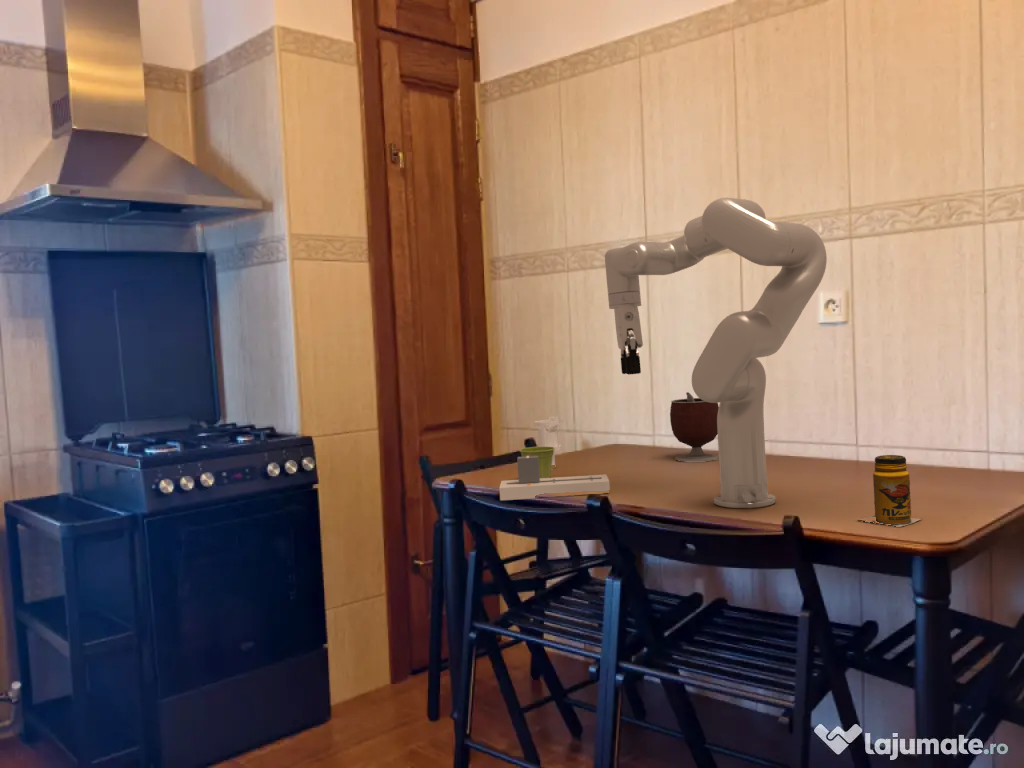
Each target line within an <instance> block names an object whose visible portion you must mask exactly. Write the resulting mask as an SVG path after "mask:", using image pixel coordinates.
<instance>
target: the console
mask: <svg viewBox="0 0 1024 768" xmlns="http://www.w3.org/2000/svg"><path fill="white" fill-rule="evenodd" d="M500 482H501V483H500V485H499V501H513V500H531V499H536V498H535V496H536V495H539V494H544V493H565V492H582V491H607V490H610V491H611V485H610V484H611V483H610V479H609V477H608V476H607V474H605V473H604V474H591V475H577V476H576V475H575V476H573V475H572V476H561V477H560V476H556V477H551V478H540V482H534V483H519V479H510V480H509V479H508V480H501V481H500Z"/></svg>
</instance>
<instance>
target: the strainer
mask: <svg viewBox="0 0 1024 768" xmlns="http://www.w3.org/2000/svg"><path fill="white" fill-rule="evenodd" d="M547 418H548V419H541V420H534V426H535V427H538V428H537V435H538V438H537V439H538V445H536V446H535V447H554V448H555V449H554V451H553V455H552V465H555V466H556V460H555V459H556V457H555V456H556V455H555V451H560V450H562V444H559V435H558V431H557V430H560V417H559V416H549V417H547ZM546 427H548V431H547V429H546Z"/></svg>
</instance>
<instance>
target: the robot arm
mask: <svg viewBox="0 0 1024 768" xmlns="http://www.w3.org/2000/svg"><path fill="white" fill-rule="evenodd" d="M685 224H686V225H685V227H684V231H683V235H682V236H679V237H677V238H675V239H671V240H670V241H665V242H661V241H659V242H658V241H636V242H632V243H630V244H627V245H626V246H622V247H617V248H616V247H615V248H611V249H608V250H607V251H605V254H604V267H605V277H606V286H607V287H606V288H607V298H608V299H607V300H608V307H609V308H608V309H609V310H613V311H614V324H615V333H616V341H617V346H618V349H619V350H620V367H621V373H622V375H626V374H627V375H629V376H630V375H639V374H641V373H642V369H641V359H640V353H639V349H640V348H642V347H643V346H644V343H643V335H642V324H641V318H640V313H639V307H641V306H642V299H641V287H640V285H641V284H640V279H639V278H640V276H667V275H672V274H675V273H677V272H680V271H682V270H686V269H688V268H692V267H693V266H695V265H697V264H699V263H700V262H701V261H703V260H704V259H705V258H707V257H710V256H712V255H714V254H718V253H719V252H722V251H725V250H729V251H732V252H733V253H735V254H736V255H738V256H740V257H742V258H744V259H746V260H747V261H749V262H751V263H753V264H756V265H759V266H764V267H781V269H780V271H779V272H778V273H777V274H776V275H775V276H774V278H772V279H771V281H770V282H769V283H768V284H767V286H766V287H765V288H764V290H763V292H762V293H761V296H760V298H759V299H758V301H757V302H756V303H755V305H754V306H753V308H751V309H750V310H745V311H744V310H743V311H742V310H741V311H735V312H733V313H731V314H729V315H728V316H726V317H725V318H723V319H722V320H721V321H720V323H719V324H718V325H717V327H715V329H714V331H713V333H712V335H711V336H710V337H709V339H708V341H707V343H706V345H705V347H704V349H703V350H702V352H701V354H700V356H699V357H698V359H697V361H696V363H695V365H694V368H693V370H692V374H691V385H692V386H691V387H692V391H693V393H695V395H696V396H697V398H700V399H702V400H703V401H706V402H710V403H718V406H719V409H718V415H717V429H718V430H717V432H718V434H717V447H718V456H719V459H718V462H719V463H718V464H719V483H720V494H717V495H715V496H714V497H713V503H714V505H716V506H719V507H723V508H731V509H733V508H734V509H754V508H763V507H769V506H771V505H774V504H775V503H776V496H775V495H774V494H771V493H768V479H767V477H768V476H767V463H766V462H767V460H766V459H767V458H766V457H767V456H766V441H765V420H764V405H765V403H764V402H765V393H766V385H767V374H766V370H765V368H764V366H763V363H762V362H761V361H760V360H759V359H758V358H765V357H770V356H772V355H774V354H776V353H777V352H778V351H779V350H780V348H782V347H783V344H784V343H785V341H786V339H787V338H788V336H789V334H790V333H791V331H792V330H793V328H794V326H795V324H797V321H798V320H799V318H800V317H801V315H802V312H803V311H804V309H805V307H806V306H807V305H808V303H809V302H810V300H811V298H812V297H813V295H814V294H815V292H816V290H817V289H818V288H819V285H821V284H820V283H822V280H823V277H824V275H825V273H826V268H827V261H828V260H827V259H828V257H827V250H826V246H825V244H824V242H823V239H822V237H820V235H819V234H818V233H817V232H816V231H815V230H814V229H813V228H811V227H809V226H807V225H805V224H801V223H795V222H786V221H785V222H784V221H781V222H780V221H772V220H769V219H767V216H766V214H765V212H764V209H763V208H762V207H761V206H760V204H758V203H757V202H755V201H753V200H750V199H746V198H745V199H742V198H735V197H721V198H718V199H715V200H712V202H710V203H709V204H708V205H707V206H706V207H705V209H704V210H703V213H702V215H700V216H697V217H695V218H692V219H690V220H688V222H687V223H685Z"/></svg>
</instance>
